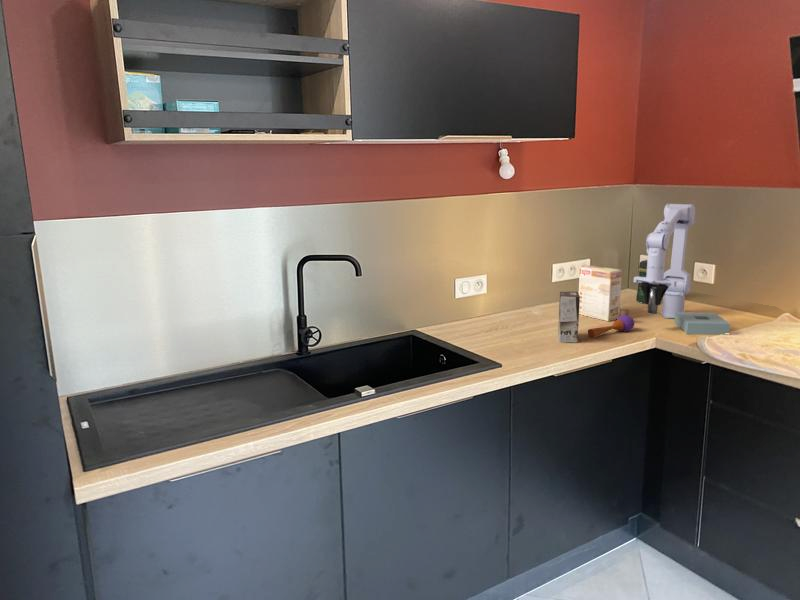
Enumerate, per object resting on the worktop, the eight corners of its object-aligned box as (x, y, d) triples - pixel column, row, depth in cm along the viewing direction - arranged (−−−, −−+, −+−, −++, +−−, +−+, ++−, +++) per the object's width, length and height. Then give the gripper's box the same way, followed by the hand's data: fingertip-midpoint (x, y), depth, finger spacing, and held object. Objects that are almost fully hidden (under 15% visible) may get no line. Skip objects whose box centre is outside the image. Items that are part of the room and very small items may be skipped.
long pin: (646, 311, 227) (648, 287, 225) (656, 311, 226) (657, 287, 224) (648, 313, 224) (650, 288, 222) (658, 313, 223) (659, 289, 221)
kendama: (583, 325, 222) (623, 313, 231) (586, 341, 222) (626, 329, 231) (596, 325, 216) (636, 313, 225) (598, 342, 217) (639, 329, 226)
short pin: (618, 321, 240) (619, 309, 239) (626, 321, 239) (627, 309, 238) (619, 323, 237) (620, 311, 236) (628, 324, 236) (629, 311, 235)
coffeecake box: (619, 319, 244) (622, 269, 240) (607, 321, 240) (610, 271, 236) (588, 311, 256) (590, 264, 252) (576, 314, 252) (579, 266, 248)
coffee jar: (649, 305, 265) (652, 261, 261) (633, 302, 272) (635, 259, 268) (663, 302, 271) (666, 259, 266) (646, 299, 277) (649, 257, 273)
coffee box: (578, 342, 213) (580, 296, 210) (558, 342, 215) (560, 296, 211) (576, 335, 222) (578, 291, 219) (557, 335, 223) (559, 290, 220)
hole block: (674, 322, 237) (675, 312, 236) (714, 323, 235) (715, 313, 234) (686, 333, 222) (687, 323, 221) (729, 334, 220) (730, 323, 219)
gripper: (630, 266, 224) (628, 303, 226) (672, 270, 214) (669, 309, 217) (639, 263, 228) (636, 299, 231) (680, 267, 219) (677, 305, 222)
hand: (653, 304), depth 224 cm, fingers closed on long pin, 3 cm apart
